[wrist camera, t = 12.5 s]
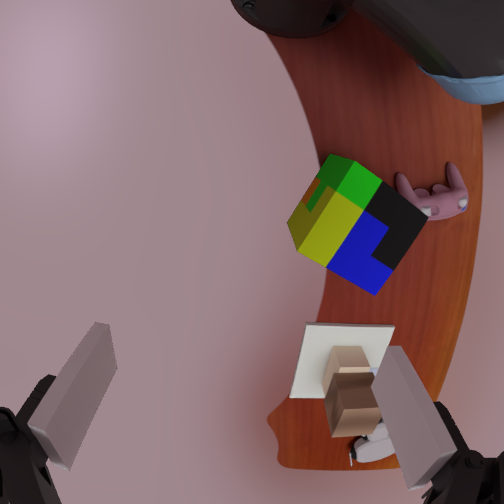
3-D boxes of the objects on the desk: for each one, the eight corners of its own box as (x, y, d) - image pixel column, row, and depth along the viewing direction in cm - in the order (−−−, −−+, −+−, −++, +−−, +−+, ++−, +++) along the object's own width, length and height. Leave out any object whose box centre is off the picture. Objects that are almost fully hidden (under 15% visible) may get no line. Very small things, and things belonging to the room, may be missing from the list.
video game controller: (390, 198, 39) (413, 234, 35) (392, 170, 36) (418, 205, 31) (448, 185, 38) (474, 217, 34) (452, 158, 35) (482, 190, 30)
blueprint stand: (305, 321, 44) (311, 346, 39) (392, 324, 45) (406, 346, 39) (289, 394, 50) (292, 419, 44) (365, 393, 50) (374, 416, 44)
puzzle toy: (350, 259, 41) (374, 295, 32) (286, 222, 39) (297, 251, 30) (391, 197, 38) (429, 217, 28) (329, 153, 36) (354, 160, 27)
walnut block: (333, 372, 40) (344, 409, 34) (372, 372, 41) (387, 406, 34) (323, 401, 43) (331, 437, 36) (360, 400, 43) (372, 434, 36)
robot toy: (343, 413, 53) (347, 454, 57) (347, 430, 49) (351, 469, 53) (402, 395, 52) (399, 439, 56) (410, 410, 48) (405, 453, 52)
